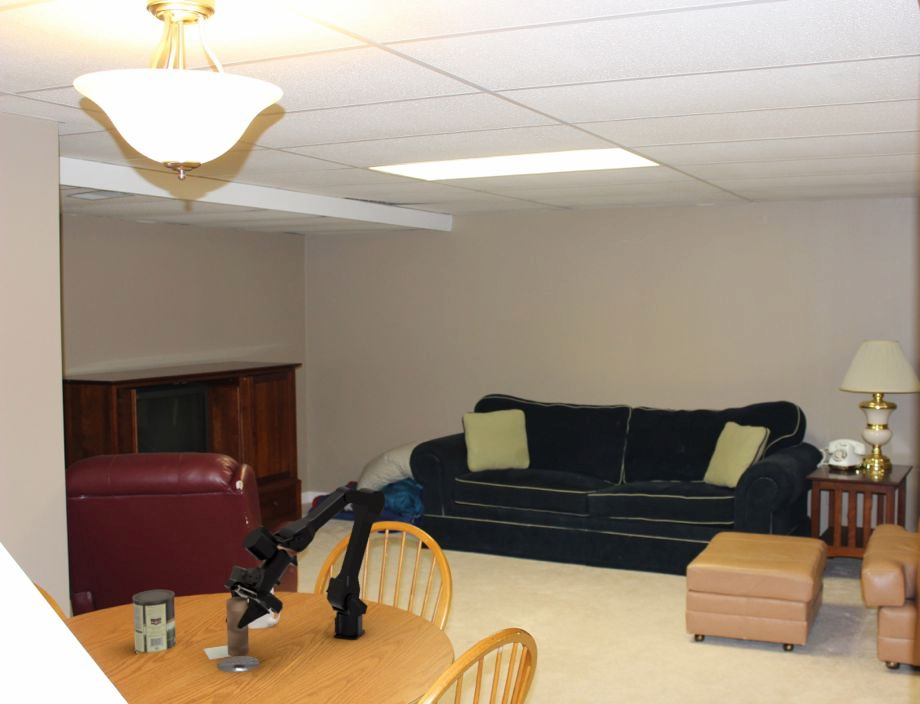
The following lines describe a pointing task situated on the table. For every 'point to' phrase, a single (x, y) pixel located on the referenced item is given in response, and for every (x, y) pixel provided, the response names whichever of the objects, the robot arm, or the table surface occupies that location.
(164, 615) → the coffee can
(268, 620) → the mug
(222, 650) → the stand
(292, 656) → the table surface
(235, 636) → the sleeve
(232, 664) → the grey saucer
